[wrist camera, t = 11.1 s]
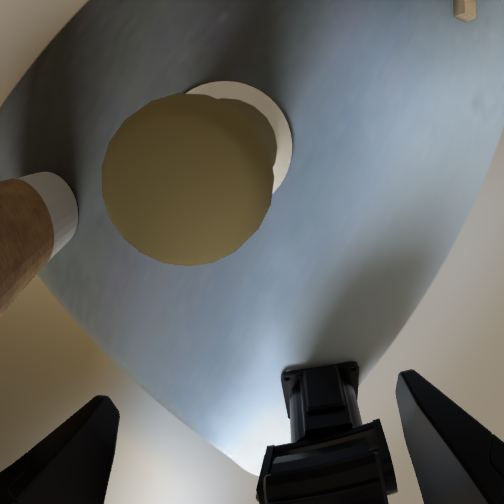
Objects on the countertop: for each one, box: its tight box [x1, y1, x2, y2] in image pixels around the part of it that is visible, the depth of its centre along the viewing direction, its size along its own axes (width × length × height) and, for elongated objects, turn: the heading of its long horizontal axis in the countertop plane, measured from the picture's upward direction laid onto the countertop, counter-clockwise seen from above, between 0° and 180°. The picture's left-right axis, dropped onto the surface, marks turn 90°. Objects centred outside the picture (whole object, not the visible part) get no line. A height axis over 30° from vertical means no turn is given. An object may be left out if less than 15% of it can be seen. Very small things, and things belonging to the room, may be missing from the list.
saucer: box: [185, 81, 292, 194], centre depth 18 cm, size 8×8×1 cm
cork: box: [102, 93, 277, 266], centre depth 13 cm, size 6×6×11 cm
